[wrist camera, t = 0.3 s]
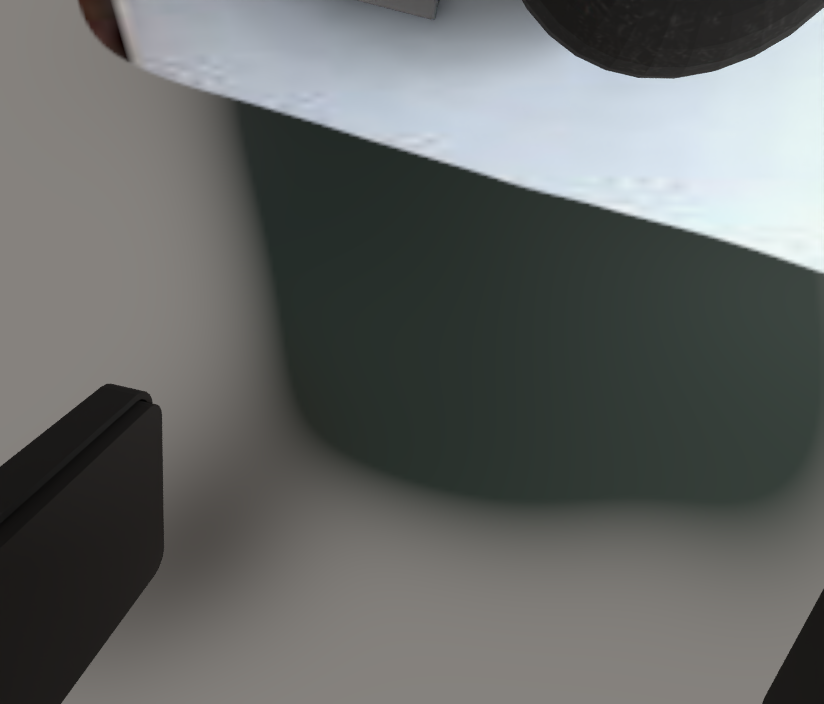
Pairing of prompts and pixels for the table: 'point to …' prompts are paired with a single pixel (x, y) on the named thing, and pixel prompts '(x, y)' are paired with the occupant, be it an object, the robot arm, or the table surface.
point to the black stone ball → (669, 31)
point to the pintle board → (409, 6)
